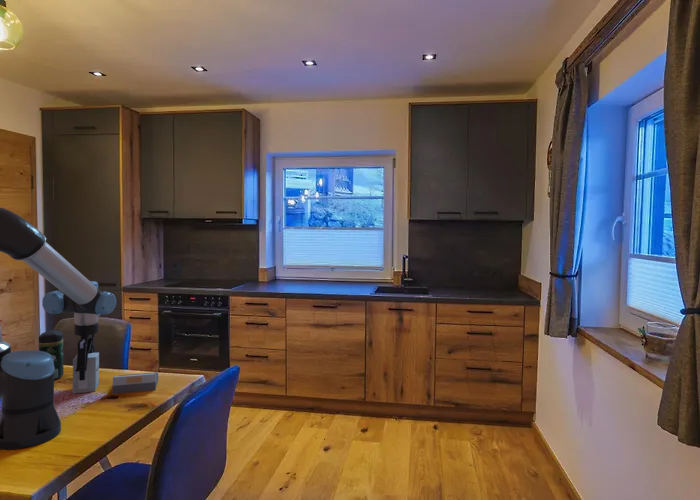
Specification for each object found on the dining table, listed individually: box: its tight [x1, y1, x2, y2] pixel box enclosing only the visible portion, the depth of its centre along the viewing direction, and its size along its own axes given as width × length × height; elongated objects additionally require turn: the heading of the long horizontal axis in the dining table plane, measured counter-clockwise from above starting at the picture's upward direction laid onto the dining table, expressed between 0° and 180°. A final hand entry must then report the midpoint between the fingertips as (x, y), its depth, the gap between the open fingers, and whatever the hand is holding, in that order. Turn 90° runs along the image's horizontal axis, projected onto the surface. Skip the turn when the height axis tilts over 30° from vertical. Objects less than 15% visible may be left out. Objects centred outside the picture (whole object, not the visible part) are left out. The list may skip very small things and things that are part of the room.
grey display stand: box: [112, 371, 159, 395], centre depth 159 cm, size 12×14×6 cm
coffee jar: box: [38, 329, 64, 380], centre depth 167 cm, size 10×8×19 cm
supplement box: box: [72, 352, 100, 394], centre depth 155 cm, size 7×7×13 cm
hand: (86, 383), depth 155 cm, fingers open, 9 cm apart
